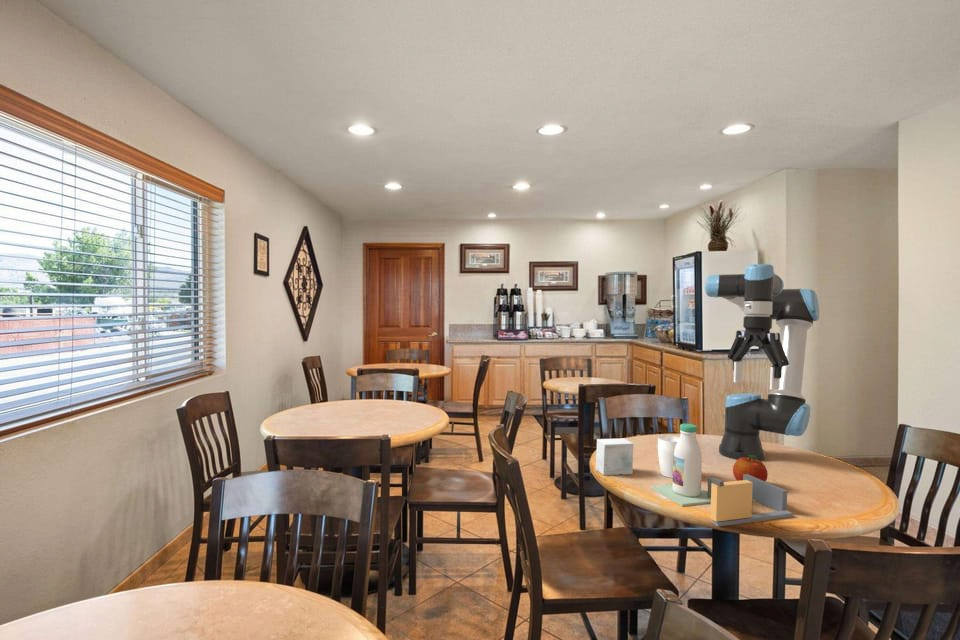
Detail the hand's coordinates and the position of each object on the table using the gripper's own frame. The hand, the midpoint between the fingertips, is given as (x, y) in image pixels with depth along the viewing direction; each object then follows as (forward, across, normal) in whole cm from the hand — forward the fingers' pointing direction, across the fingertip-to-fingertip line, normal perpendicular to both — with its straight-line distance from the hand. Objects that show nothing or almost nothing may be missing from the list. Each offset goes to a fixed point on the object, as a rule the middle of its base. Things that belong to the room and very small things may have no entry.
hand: (755, 385), depth 150 cm
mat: (+32, -1, -23) cm, 39 cm away
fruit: (+32, -3, +2) cm, 32 cm away
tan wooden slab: (+30, +18, -25) cm, 43 cm away
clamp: (+32, +11, -17) cm, 38 cm away
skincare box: (+32, -24, -33) cm, 52 cm away
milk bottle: (+31, -1, -23) cm, 39 cm away
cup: (+32, -17, -16) cm, 40 cm away
